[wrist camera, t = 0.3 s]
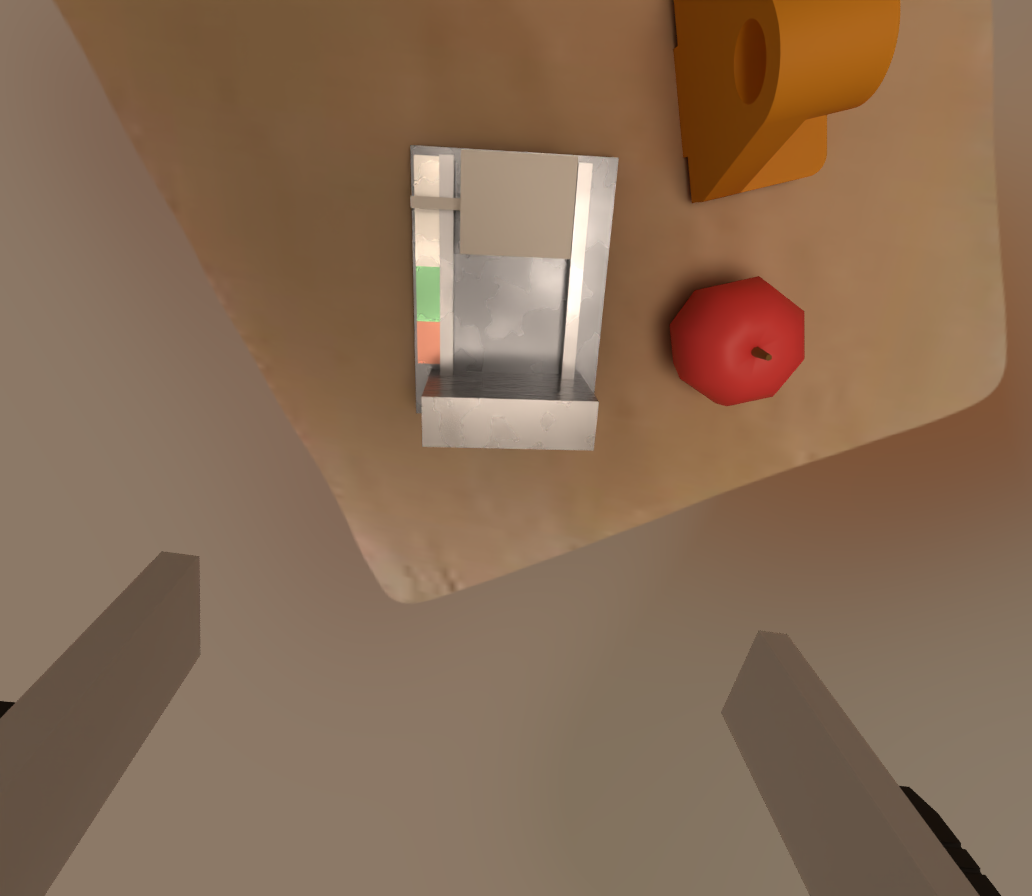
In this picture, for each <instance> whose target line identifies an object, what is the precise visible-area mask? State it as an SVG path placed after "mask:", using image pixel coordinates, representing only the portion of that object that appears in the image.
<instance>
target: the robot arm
mask: <svg viewBox="0 0 1032 896" xmlns="http://www.w3.org/2000/svg"><path fill="white" fill-rule="evenodd" d="M199 573H200V571H199V556H193V555H185V554H177V553H170V552H163V551H162V552H161V553H160V554H159V555H158V556H157V557H156V558H155V559H154V560H153V561H152V562H151V563H150V564H149V565H148V566H147V567H146V568H145V569H144V570H143V572H142V573H140V575H138V577H137V578H136V579H135V580H134V581H133V582H132V583H131V584H130V585H129V586H128V587H127V588H126V589H125V590H124V591H123V592H122V593H121V594H120V595H119V596H118V597H117V598H116V599H115V601H113V602H112V603H111V604H110V606H109V607H108V608H107V609H106V610H105V611H104V612H103V613H102V614H101V615H100V616H99V617H98V618H97V619H96V620H95V621H94V622H93V623H92V624H91V625H90V626H89V627H88V628H87V629H86V630H85V632H83V633H82V634H81V636H80V637H79V638H78V639H77V640H76V641H75V642H74V643H73V644H72V645H71V646H70V647H69V648H68V649H67V650H66V651H65V652H64V653H63V654H62V655H61V656H60V657H59V658H58V659H57V660H56V661H55V663H53V665H52V666H51V667H50V668H49V669H48V670H47V671H46V672H45V673H44V674H43V675H42V676H41V677H40V678H39V679H38V680H37V681H36V682H35V683H34V684H33V685H32V686H31V687H30V688H29V690H28V691H26V692H25V694H24V695H23V696H22V697H21V698H20V699H19V700H18V701H17V702H16V703H14V702H4V701H0V896H45V894H46V893H47V891H48V889H49V888H50V886H51V885H52V883H53V882H54V880H55V879H56V877H57V876H58V874H59V872H60V871H61V869H62V868H63V866H64V865H65V863H66V862H67V860H68V859H69V857H70V855H71V854H72V852H73V851H74V849H75V848H76V846H77V845H78V843H79V841H80V840H81V838H82V837H83V835H84V834H85V832H86V831H87V829H88V827H89V826H90V825H91V823H92V821H93V820H94V818H95V817H96V815H97V814H98V812H99V811H100V809H101V808H102V806H103V804H104V803H105V801H106V799H107V798H108V797H109V795H110V794H111V792H112V790H113V789H114V787H115V786H116V784H117V783H118V781H119V780H120V778H121V777H122V775H123V773H124V772H125V770H126V769H127V767H128V766H129V764H130V763H131V761H132V760H133V758H134V757H135V755H136V753H137V752H138V750H139V749H140V747H141V745H142V744H143V743H144V741H145V740H146V738H147V737H148V735H149V733H150V732H151V730H152V729H153V727H154V726H155V724H156V723H157V721H158V719H159V718H160V716H161V715H162V713H163V712H164V710H165V709H166V707H167V706H168V704H169V703H170V701H171V699H172V697H173V696H174V695H175V693H176V692H177V690H178V688H179V687H180V686H181V684H182V682H183V681H184V679H185V678H186V676H187V675H188V673H189V671H190V670H191V669H192V667H193V665H194V664H195V662H196V661H197V659H198V658H199V656H200V579H199V578H200V575H199ZM721 713H722V715H723V717H724V719H725V722H726V724H727V726H728V728H729V730H730V732H731V734H732V736H733V738H734V740H735V742H736V744H737V746H738V748H739V750H740V752H741V755H742V757H743V759H744V761H745V763H746V765H747V767H748V769H749V771H750V773H751V775H752V777H753V779H754V781H755V783H756V785H757V787H758V789H759V791H760V794H761V796H762V798H763V800H764V802H765V804H766V806H767V808H768V810H769V812H770V814H771V816H772V818H773V820H774V822H775V825H776V827H777V828H778V831H779V833H780V835H781V837H782V839H783V841H784V843H785V845H786V847H787V849H788V851H789V853H790V855H791V857H792V859H793V861H794V864H795V866H796V868H797V870H798V872H799V874H800V876H801V878H802V880H803V882H804V884H805V886H806V888H807V890H808V892H809V895H810V896H1001V895H1000V894H999V893H998V891H997V890H996V888H995V887H994V886H993V885H992V883H991V882H990V881H989V879H988V878H987V877H986V875H982V874H981V872H980V868H979V866H978V865H977V864H976V862H975V861H974V860H973V858H972V857H971V856H970V854H969V853H968V852H967V851H966V850H965V849H962V848H961V843H960V841H959V840H958V839H957V838H956V836H955V835H954V834H953V832H952V831H951V830H950V828H949V827H948V826H947V825H946V823H945V822H944V821H943V819H942V818H941V817H940V815H939V814H938V813H937V812H936V811H935V810H934V809H933V808H931V807H930V806H929V805H928V804H927V803H926V802H925V801H924V800H923V799H922V798H921V797H920V796H918V795H917V794H916V793H915V792H914V791H913V790H912V789H911V788H910V787H904V786H898V784H897V783H896V782H895V780H894V779H893V777H892V776H891V775H890V773H889V772H888V771H887V769H886V768H885V767H884V765H883V764H882V762H881V761H880V760H879V758H878V757H877V756H876V754H875V753H874V752H873V750H872V749H871V748H870V746H869V745H868V743H867V742H866V741H865V739H864V738H863V737H862V736H861V734H860V733H859V731H858V730H857V728H856V727H855V726H854V724H853V723H852V722H851V720H850V719H849V718H848V716H847V715H846V714H845V712H844V711H843V709H842V708H841V707H840V706H839V704H838V703H837V701H836V700H835V699H834V697H833V696H832V695H831V693H830V692H829V691H828V689H827V688H826V686H825V685H824V684H823V682H822V681H821V680H820V678H819V677H818V676H817V674H816V673H815V671H814V670H813V669H812V667H811V666H810V665H809V663H808V662H807V661H806V659H805V658H804V657H803V655H802V654H801V652H800V651H799V650H798V648H797V647H796V646H795V644H794V643H793V642H792V640H791V639H790V637H789V636H788V635H787V634H781V633H773V632H766V631H758V633H757V635H756V637H755V640H754V642H753V644H752V646H751V648H750V651H749V653H748V655H747V657H746V659H745V662H744V664H743V666H742V668H741V670H740V672H739V675H738V677H737V679H736V681H735V683H734V685H733V688H732V690H731V692H730V694H729V696H728V699H727V701H726V703H725V705H724V707H723V710H722V712H721Z"/></svg>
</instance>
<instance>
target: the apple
mask: <svg viewBox="0 0 1032 896" xmlns="http://www.w3.org/2000/svg"><path fill="white" fill-rule="evenodd" d="M670 334H671V344H672V355H673V363H674V366H675V368H676V370H677V373H678V375H679V377H680V379H681V380H683V381H684V382H686V383H687V384H689V385H690V386H691V387H693V388H694V389H696V390H697V391H699V392H700V393H702V394H703V395H705V396H706V397H707V398H709V399H710V400H712V401H713V402H715V403H717V404H721V405H725V406H730V405H735V404H740V403H744V402H749V401H754V400H759V399H763V398H768V397H773V395H774V394H775V393H776V392H777V391H778V390H779V389H780V388H781V386H782V385H783V384H784V383H785V382H786V380H787V379H788V378H789V377H790V376H791V374H792V373H793V372H794V371H795V370H796V368H797V367H798V366H799V365H800V364H801V362H802V361H803V360H804V311H803V310H802V309H800V308H799V307H798V306H797V305H795V304H794V303H793V302H791V301H790V300H789V299H788V298H786V297H785V296H784V295H783V294H781V293H780V292H779V291H777V290H776V289H775V288H774V287H772V286H771V285H770V284H768V283H767V282H766V281H764V280H763V279H762V278H760V277H759V276H758V277H754V278H749V279H744V280H740V281H735V282H731V283H726V284H722V285H717V286H712V287H708V288H703V289H699V290H695V291H694V292H693V294H692V295H691V296H690V298H689V299H688V300H687V302H686V303H685V305H684V306H683V307H682V309H681V310H680V311H679V313H678V314H677V315H676V317H675V318H674V319H673V321H672V322H671V324H670Z"/></svg>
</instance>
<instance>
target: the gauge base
mask: <svg viewBox="0 0 1032 896" xmlns="http://www.w3.org/2000/svg"><path fill="white" fill-rule="evenodd" d="M410 147H411V193H412V196H425V197H443V198H461V149H464V150H481V151H497V152H514V153H530V154H547V155H564V156H578V167H577V179H576V192H575V205H574V217H573V230H572V242H571V255H570V259H558V258H536V257H515V256H494V255H472V254H460V210H442V209H422V208H412V239H413V285H414V331H415V376H416V413H422V447H461V448H506V449H552V450H594V442H595V433H596V423H597V414H598V405H599V401H598V400H597V398H596V397H595V395H594V390H595V380H596V370H597V361H598V351H599V342H600V332H601V322H602V313H603V303H604V294H605V284H606V274H607V265H608V255H609V246H610V236H611V226H612V217H613V207H614V198H615V188H616V178H617V169H618V159H619V158H614V157H598V156H581V155H565V154H548V153H532V152H515V151H499V150H482V149H465V148H449V147H432V146H416V145H410Z"/></svg>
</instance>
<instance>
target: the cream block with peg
mask: <svg viewBox="0 0 1032 896" xmlns="http://www.w3.org/2000/svg"><path fill="white" fill-rule="evenodd" d="M577 167H578V156H564V155H547V154H530V153H514V152H497V151H481V150H464V149H461V198H443V197H425V196H410V203H411V208H422V209H442V210H460V254H472V255H494V256H515V257H536V258H558V259H570V255H571V242H572V230H573V217H574V205H575V192H576V179H577Z"/></svg>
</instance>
